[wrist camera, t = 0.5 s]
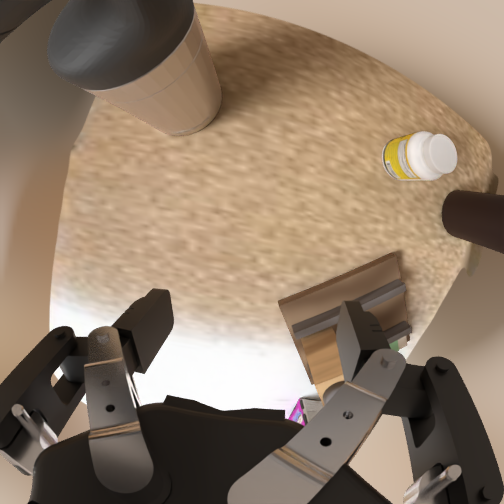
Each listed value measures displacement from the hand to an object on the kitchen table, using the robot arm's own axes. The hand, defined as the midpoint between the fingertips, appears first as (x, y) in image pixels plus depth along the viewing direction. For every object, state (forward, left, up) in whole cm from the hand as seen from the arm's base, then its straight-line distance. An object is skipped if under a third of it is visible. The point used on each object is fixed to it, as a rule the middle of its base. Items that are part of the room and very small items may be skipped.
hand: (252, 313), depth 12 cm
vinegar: (+8, +29, -20) cm, 36 cm away
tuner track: (+16, +8, -20) cm, 27 cm away
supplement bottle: (-2, +21, -20) cm, 29 cm away
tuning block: (+18, +3, -18) cm, 25 cm away
